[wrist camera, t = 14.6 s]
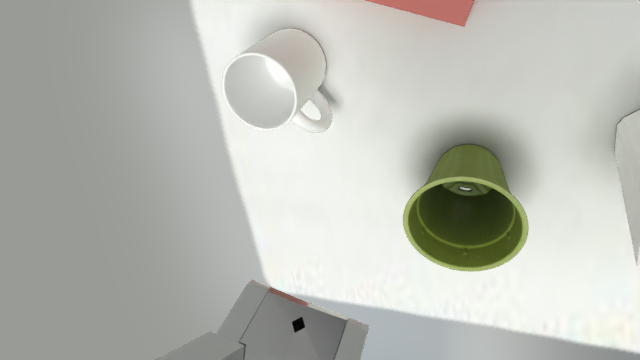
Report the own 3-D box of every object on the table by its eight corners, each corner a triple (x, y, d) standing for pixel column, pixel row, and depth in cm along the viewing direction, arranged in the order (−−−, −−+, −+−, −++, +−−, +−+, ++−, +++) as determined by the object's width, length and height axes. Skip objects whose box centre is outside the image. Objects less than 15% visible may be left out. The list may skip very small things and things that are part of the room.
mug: (364, 88, 51) (340, 125, 43) (319, 128, 56) (289, 169, 48) (291, 10, 49) (250, 34, 41) (250, 59, 54) (207, 89, 45)
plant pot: (401, 145, 53) (383, 196, 44) (501, 110, 47) (504, 161, 38) (439, 220, 57) (429, 280, 48) (535, 197, 51) (545, 261, 42)
